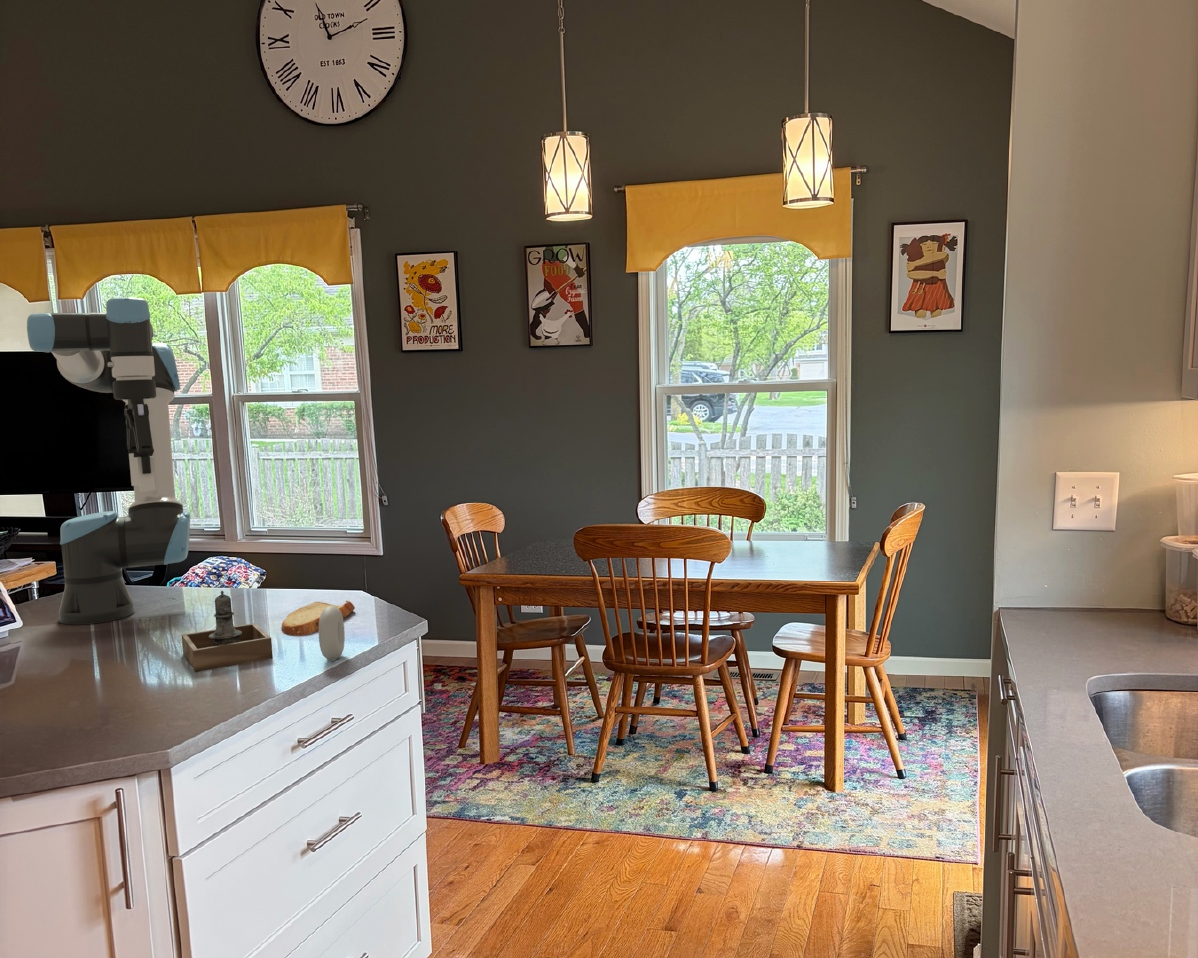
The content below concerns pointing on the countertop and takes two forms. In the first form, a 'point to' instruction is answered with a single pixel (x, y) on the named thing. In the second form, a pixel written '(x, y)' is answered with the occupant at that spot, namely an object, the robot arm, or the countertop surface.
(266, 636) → the box
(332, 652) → the donut
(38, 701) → the countertop surface
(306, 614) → the slice of bread
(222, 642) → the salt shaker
